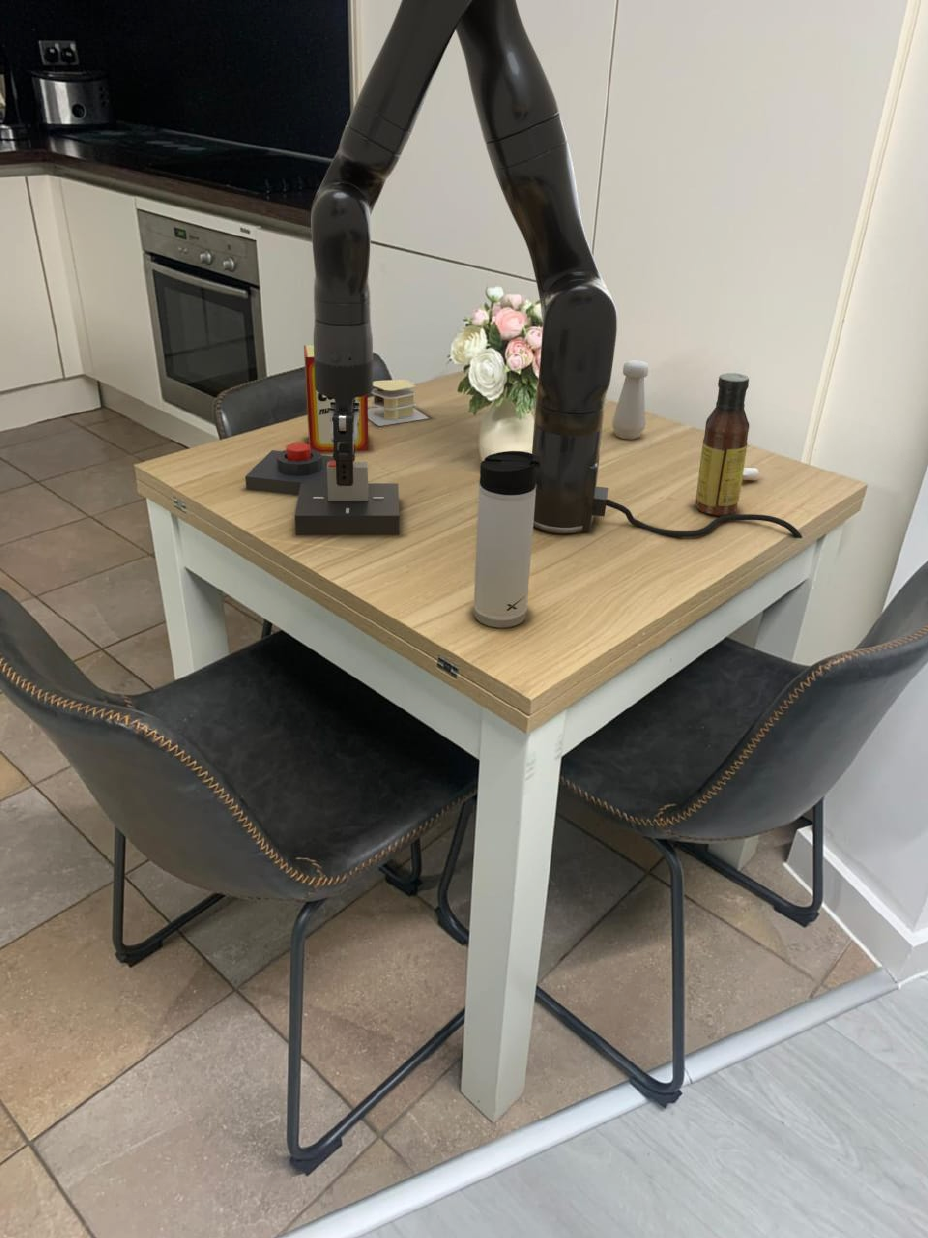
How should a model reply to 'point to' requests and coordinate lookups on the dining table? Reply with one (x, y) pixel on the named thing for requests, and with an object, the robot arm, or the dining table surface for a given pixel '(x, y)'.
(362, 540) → the dining table surface
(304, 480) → the red button base
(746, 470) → the small white plastic part
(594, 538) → the dining table surface
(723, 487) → the sauce bottle
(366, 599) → the dining table surface
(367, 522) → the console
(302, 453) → the power button
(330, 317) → the robot arm
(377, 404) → the stacked layers on plate
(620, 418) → the salt shaker
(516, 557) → the travel mug
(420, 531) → the dining table surface
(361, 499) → the grey block
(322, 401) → the baking soda box
